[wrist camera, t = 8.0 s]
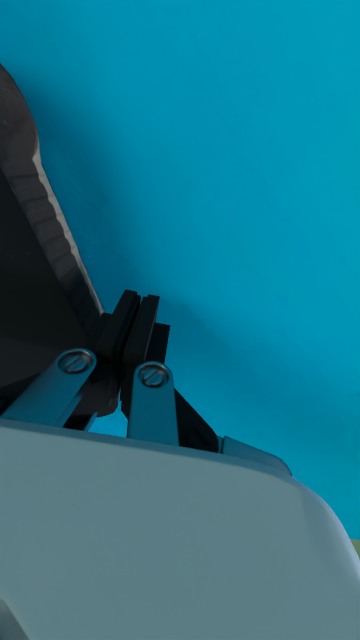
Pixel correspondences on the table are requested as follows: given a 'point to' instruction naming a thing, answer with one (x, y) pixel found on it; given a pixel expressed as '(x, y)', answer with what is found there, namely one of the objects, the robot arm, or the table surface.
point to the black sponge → (36, 255)
